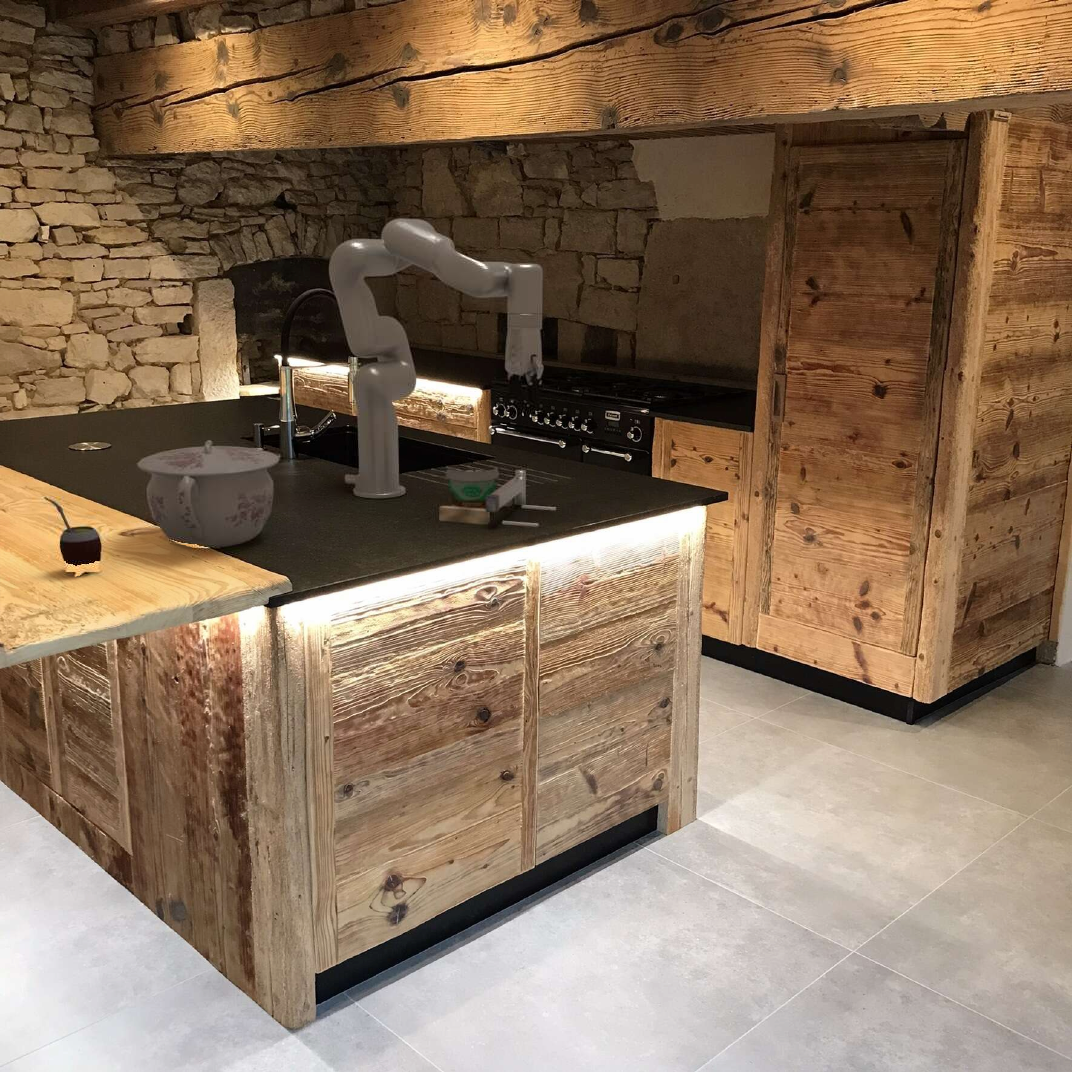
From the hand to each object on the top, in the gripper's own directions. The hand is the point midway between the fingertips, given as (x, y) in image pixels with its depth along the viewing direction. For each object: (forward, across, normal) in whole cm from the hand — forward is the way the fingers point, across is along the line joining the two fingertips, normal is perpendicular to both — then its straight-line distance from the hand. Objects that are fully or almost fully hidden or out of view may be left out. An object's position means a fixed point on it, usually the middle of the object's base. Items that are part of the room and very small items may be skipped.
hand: (523, 400), depth 242 cm
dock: (+26, -5, -9) cm, 28 cm away
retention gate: (+26, +1, -4) cm, 26 cm away
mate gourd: (+26, +12, -94) cm, 98 cm away
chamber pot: (+26, -2, -68) cm, 73 cm away
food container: (+26, -5, -10) cm, 28 cm away
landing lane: (+26, +3, 0) cm, 26 cm away
